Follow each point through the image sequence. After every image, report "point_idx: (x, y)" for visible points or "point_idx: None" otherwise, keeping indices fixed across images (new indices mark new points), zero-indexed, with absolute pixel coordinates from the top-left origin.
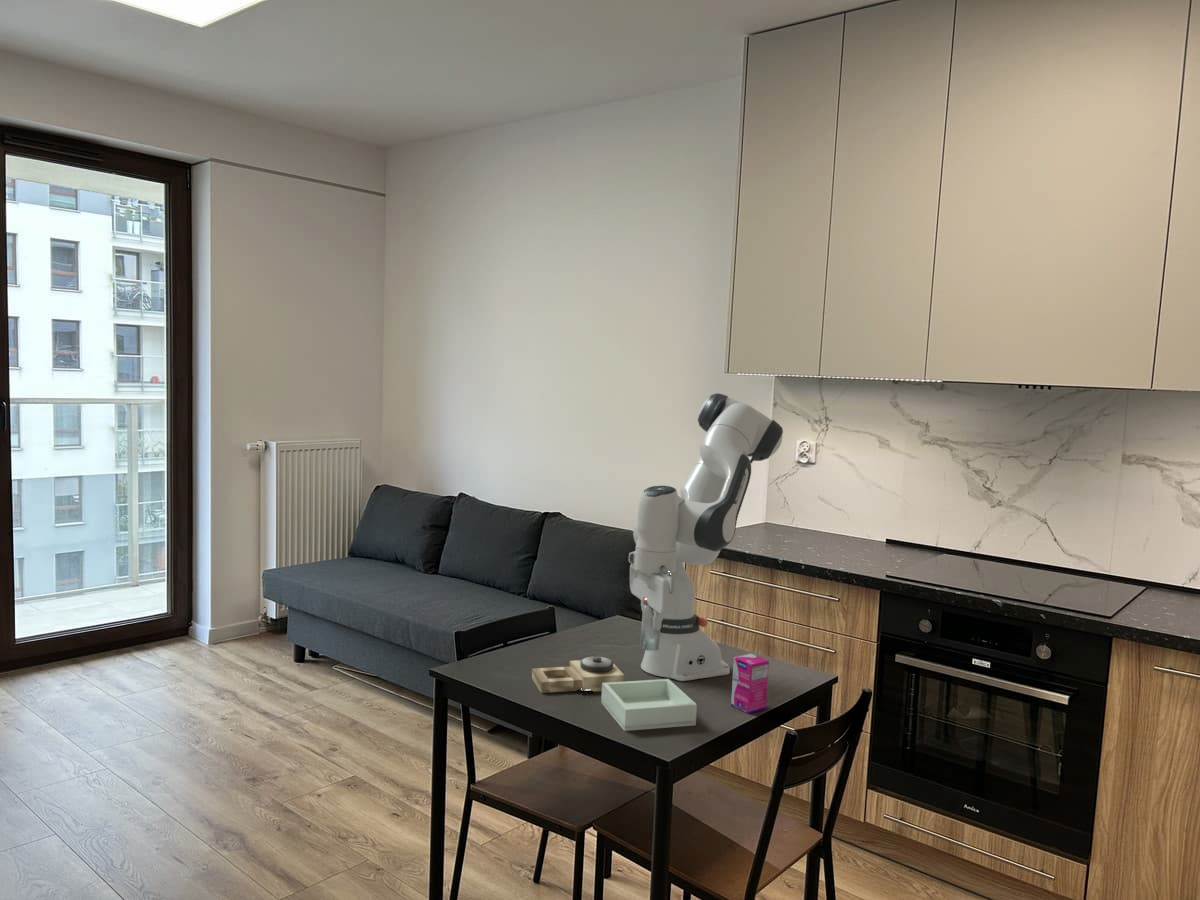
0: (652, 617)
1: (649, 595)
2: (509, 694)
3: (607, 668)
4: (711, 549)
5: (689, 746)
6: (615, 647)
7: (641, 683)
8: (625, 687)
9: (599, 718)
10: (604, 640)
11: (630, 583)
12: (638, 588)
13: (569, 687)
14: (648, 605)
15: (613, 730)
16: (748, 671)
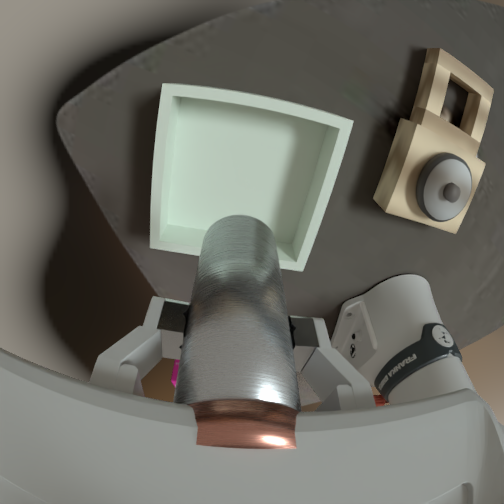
0: (182, 346)
1: (146, 480)
2: (437, 3)
3: (418, 192)
4: None
5: (85, 172)
6: (482, 281)
7: (313, 209)
8: (323, 170)
9: (258, 63)
10: (499, 280)
11: (491, 425)
12: (406, 462)
13: (419, 99)
14: (193, 404)
15: (187, 63)
16: (177, 369)
